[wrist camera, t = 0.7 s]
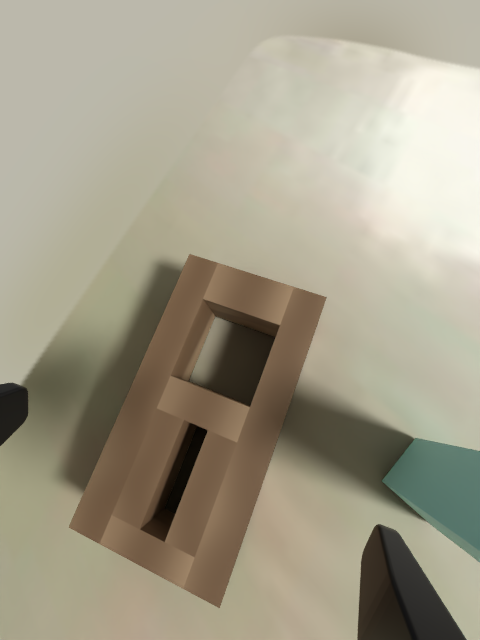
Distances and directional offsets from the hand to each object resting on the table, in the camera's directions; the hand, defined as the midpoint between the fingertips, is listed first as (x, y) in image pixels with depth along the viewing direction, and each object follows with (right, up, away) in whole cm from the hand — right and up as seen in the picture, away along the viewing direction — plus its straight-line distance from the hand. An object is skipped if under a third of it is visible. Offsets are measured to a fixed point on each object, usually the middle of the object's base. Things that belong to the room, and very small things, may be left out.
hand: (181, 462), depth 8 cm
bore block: (0, -3, +15) cm, 15 cm away
